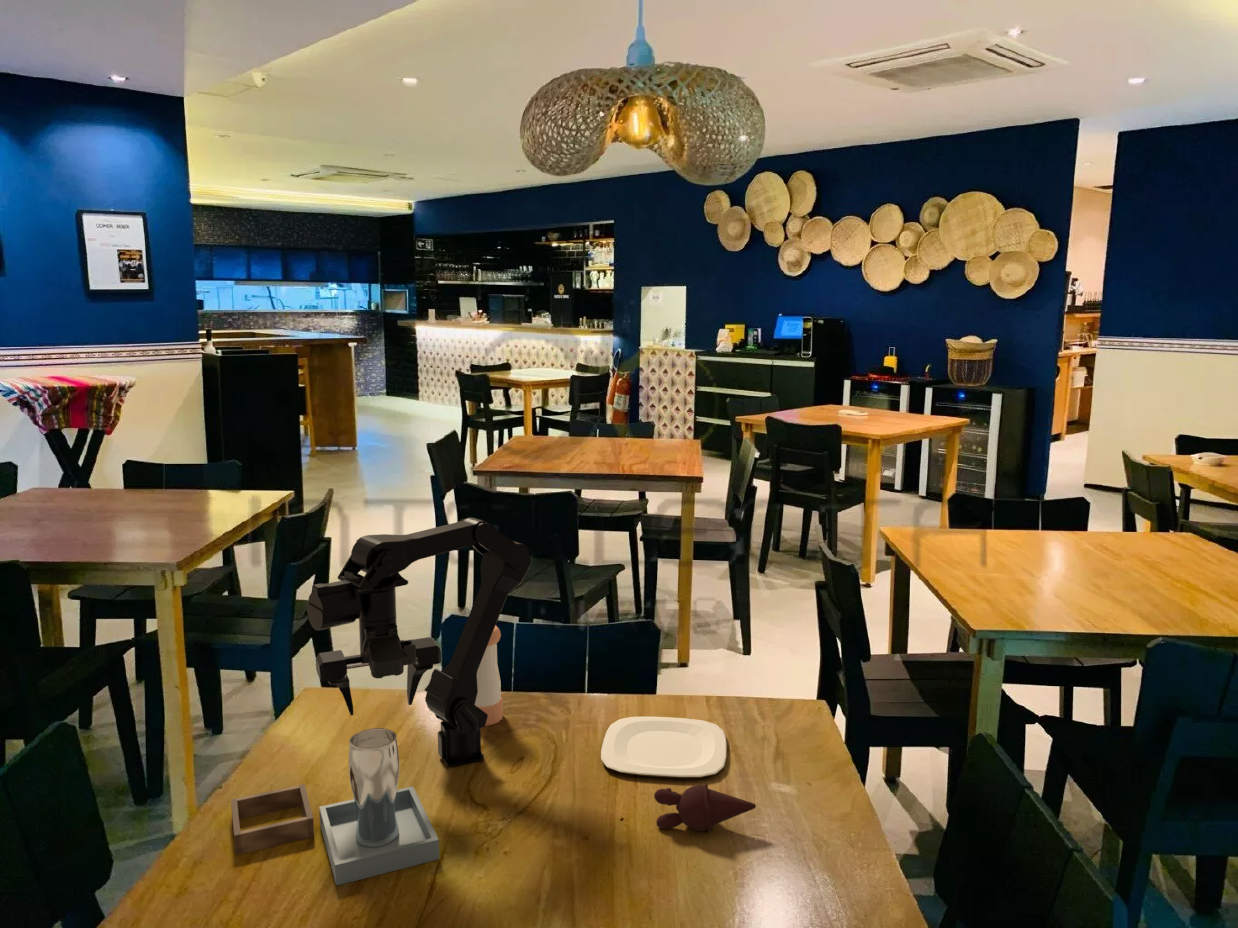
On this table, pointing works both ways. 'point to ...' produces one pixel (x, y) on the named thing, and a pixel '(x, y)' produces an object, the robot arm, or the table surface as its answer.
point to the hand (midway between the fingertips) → (381, 709)
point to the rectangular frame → (273, 832)
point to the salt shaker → (490, 682)
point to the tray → (363, 862)
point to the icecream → (699, 807)
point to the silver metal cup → (374, 785)
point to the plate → (664, 747)
